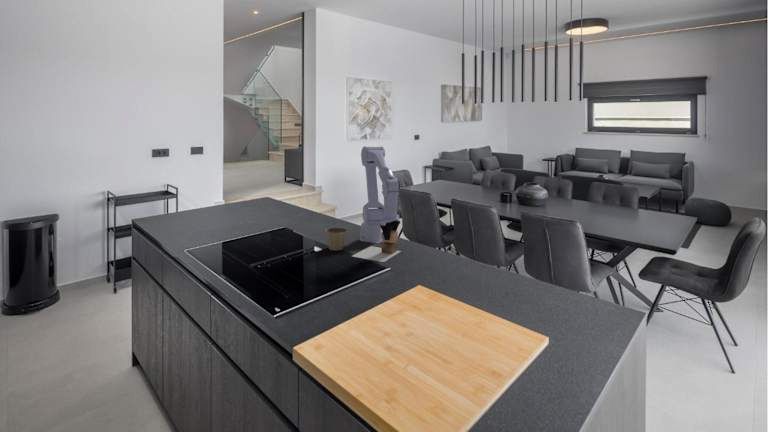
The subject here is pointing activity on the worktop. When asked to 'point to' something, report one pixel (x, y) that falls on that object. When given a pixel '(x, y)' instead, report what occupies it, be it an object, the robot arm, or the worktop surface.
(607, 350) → the worktop surface
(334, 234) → the flower pot
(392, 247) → the walnut block
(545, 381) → the worktop surface
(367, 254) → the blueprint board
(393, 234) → the terracotta block
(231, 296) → the worktop surface
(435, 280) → the worktop surface
